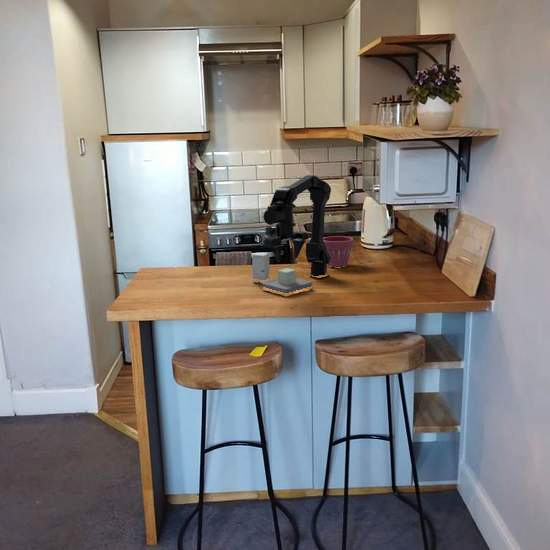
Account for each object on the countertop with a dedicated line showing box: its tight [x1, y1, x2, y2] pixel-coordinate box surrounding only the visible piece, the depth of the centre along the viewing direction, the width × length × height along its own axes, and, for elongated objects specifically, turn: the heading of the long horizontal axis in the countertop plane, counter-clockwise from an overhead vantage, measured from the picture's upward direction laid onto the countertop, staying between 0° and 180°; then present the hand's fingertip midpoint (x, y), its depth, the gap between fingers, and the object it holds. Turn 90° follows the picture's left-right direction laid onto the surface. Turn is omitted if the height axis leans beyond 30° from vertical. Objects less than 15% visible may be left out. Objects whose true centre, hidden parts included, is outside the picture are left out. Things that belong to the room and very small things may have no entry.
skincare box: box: [251, 252, 270, 280], centre depth 239 cm, size 6×4×12 cm
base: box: [261, 277, 313, 293], centre depth 227 cm, size 14×14×3 cm
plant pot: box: [323, 235, 354, 267], centre depth 261 cm, size 14×14×13 cm
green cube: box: [277, 267, 297, 285], centre depth 226 cm, size 5×5×5 cm
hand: (287, 260), depth 225 cm, fingers open, 9 cm apart
